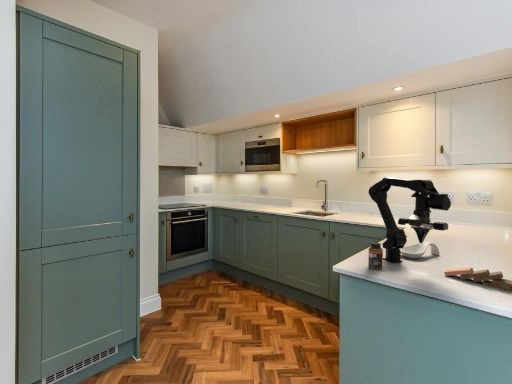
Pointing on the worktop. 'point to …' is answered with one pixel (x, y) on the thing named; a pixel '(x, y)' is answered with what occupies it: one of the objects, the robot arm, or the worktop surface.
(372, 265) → the supplement bottle
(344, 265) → the worktop surface
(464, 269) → the terracotta domino
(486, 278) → the walnut domino
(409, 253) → the spoon rest
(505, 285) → the walnut domino
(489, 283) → the walnut domino
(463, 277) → the walnut domino
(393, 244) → the robot arm
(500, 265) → the worktop surface
